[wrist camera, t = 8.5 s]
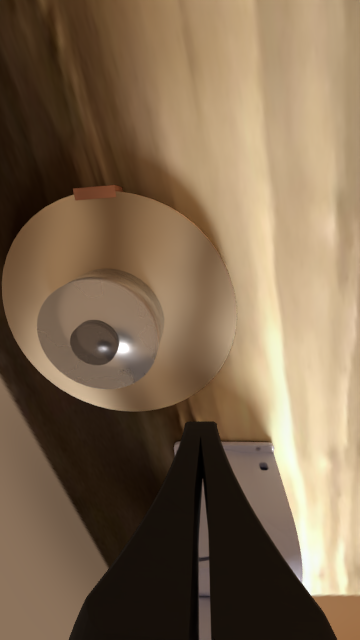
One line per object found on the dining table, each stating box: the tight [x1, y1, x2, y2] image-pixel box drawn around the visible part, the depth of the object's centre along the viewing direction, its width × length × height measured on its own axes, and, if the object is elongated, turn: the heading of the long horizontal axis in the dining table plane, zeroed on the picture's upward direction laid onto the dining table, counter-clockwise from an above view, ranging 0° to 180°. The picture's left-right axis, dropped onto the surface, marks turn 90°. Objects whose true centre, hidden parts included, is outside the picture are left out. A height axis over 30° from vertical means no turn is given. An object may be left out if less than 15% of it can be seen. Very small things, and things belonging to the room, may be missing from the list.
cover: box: [37, 268, 164, 389], centre depth 16 cm, size 7×7×4 cm
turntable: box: [2, 185, 237, 411], centre depth 18 cm, size 16×16×2 cm
